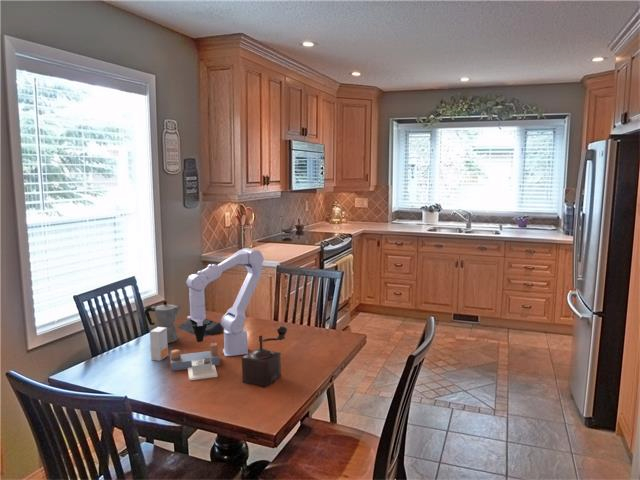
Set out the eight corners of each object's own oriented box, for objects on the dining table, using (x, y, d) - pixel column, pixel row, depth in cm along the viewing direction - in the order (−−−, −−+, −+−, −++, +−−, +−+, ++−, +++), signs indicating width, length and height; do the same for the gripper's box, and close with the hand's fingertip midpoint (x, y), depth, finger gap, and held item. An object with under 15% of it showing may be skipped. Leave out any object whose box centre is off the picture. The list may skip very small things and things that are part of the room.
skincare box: (160, 361, 192) (159, 332, 191) (151, 360, 193) (149, 331, 192) (168, 355, 198) (167, 327, 197) (159, 354, 199) (157, 326, 197)
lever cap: (210, 367, 184) (210, 357, 183) (212, 372, 179) (211, 361, 179) (191, 369, 182) (191, 359, 181) (192, 375, 177) (192, 364, 176)
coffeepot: (182, 335, 222) (181, 297, 220) (181, 342, 213) (179, 302, 211) (147, 338, 219) (145, 299, 216) (144, 345, 210) (142, 304, 207)
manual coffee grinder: (267, 388, 168) (266, 338, 165) (241, 382, 173) (240, 333, 170) (290, 371, 181) (289, 325, 179) (265, 366, 186) (264, 321, 184)
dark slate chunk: (201, 321, 244) (201, 312, 244) (229, 330, 230) (229, 320, 230) (175, 328, 233) (174, 319, 232) (202, 338, 219) (202, 328, 218)
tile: (214, 366, 187) (214, 364, 187) (217, 376, 177) (217, 374, 177) (187, 369, 184) (187, 367, 184) (189, 380, 174) (189, 378, 174)
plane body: (217, 357, 196) (216, 340, 195) (219, 364, 188) (218, 347, 187) (170, 362, 190) (169, 345, 189) (171, 370, 183) (170, 353, 182)
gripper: (185, 301, 194) (187, 333, 196) (188, 311, 181) (190, 345, 183) (203, 299, 197) (204, 331, 199) (207, 309, 183) (209, 343, 185)
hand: (199, 338), depth 191 cm, fingers open, 7 cm apart
